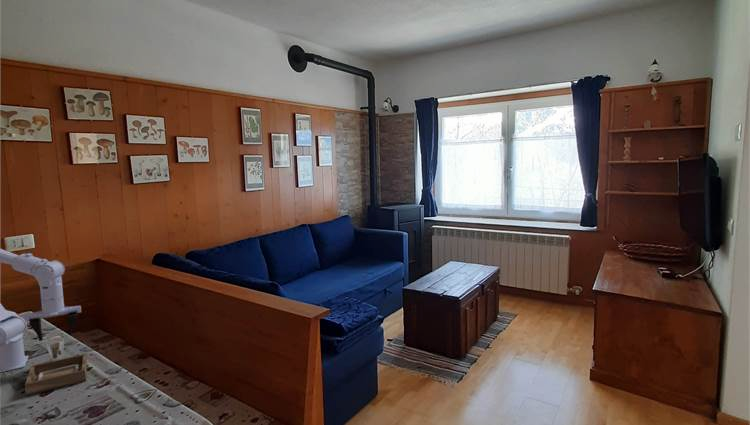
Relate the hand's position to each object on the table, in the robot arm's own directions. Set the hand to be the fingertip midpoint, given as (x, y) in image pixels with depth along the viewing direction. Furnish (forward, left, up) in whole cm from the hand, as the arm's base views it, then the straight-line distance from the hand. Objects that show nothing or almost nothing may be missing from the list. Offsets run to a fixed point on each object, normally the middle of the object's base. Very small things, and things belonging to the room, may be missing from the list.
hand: (55, 336), depth 131 cm
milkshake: (0, 0, -10) cm, 10 cm away
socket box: (+13, +1, -9) cm, 16 cm away
